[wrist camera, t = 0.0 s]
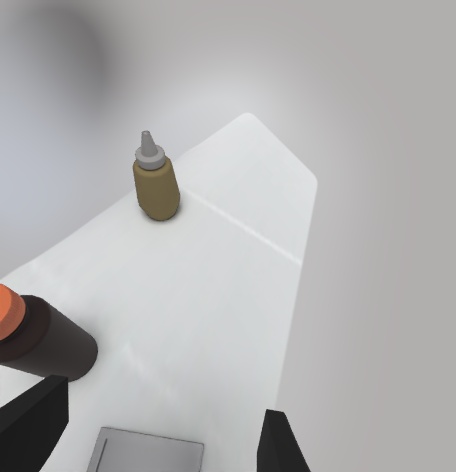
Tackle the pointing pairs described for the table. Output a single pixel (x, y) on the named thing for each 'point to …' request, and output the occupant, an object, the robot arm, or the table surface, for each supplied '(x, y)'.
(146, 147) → the squeeze bottle
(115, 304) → the table surface
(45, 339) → the vinegar
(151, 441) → the tray
